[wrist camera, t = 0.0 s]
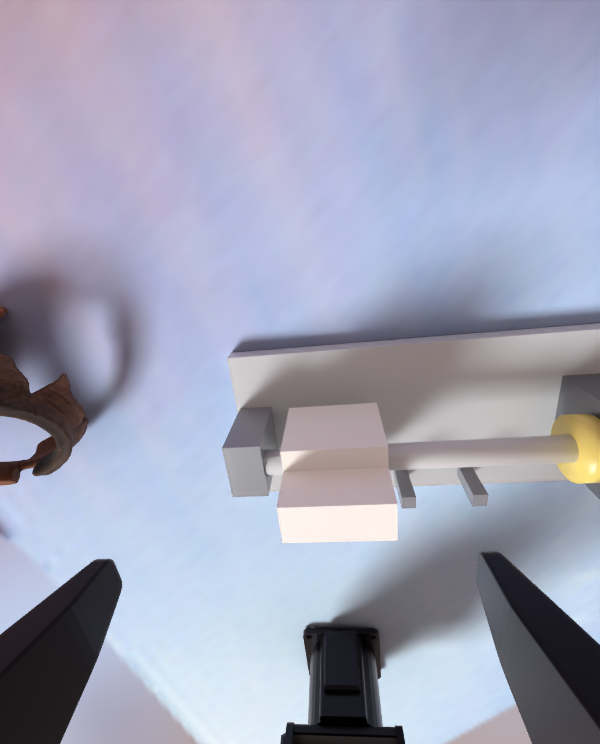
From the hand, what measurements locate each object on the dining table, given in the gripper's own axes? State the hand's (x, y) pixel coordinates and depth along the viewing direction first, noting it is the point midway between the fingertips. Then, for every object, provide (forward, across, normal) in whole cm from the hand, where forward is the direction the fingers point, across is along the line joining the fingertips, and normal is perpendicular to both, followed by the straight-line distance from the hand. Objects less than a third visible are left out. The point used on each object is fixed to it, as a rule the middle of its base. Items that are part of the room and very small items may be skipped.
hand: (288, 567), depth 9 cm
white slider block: (+12, -1, +4) cm, 13 cm away
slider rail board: (+15, -6, +4) cm, 16 cm away
